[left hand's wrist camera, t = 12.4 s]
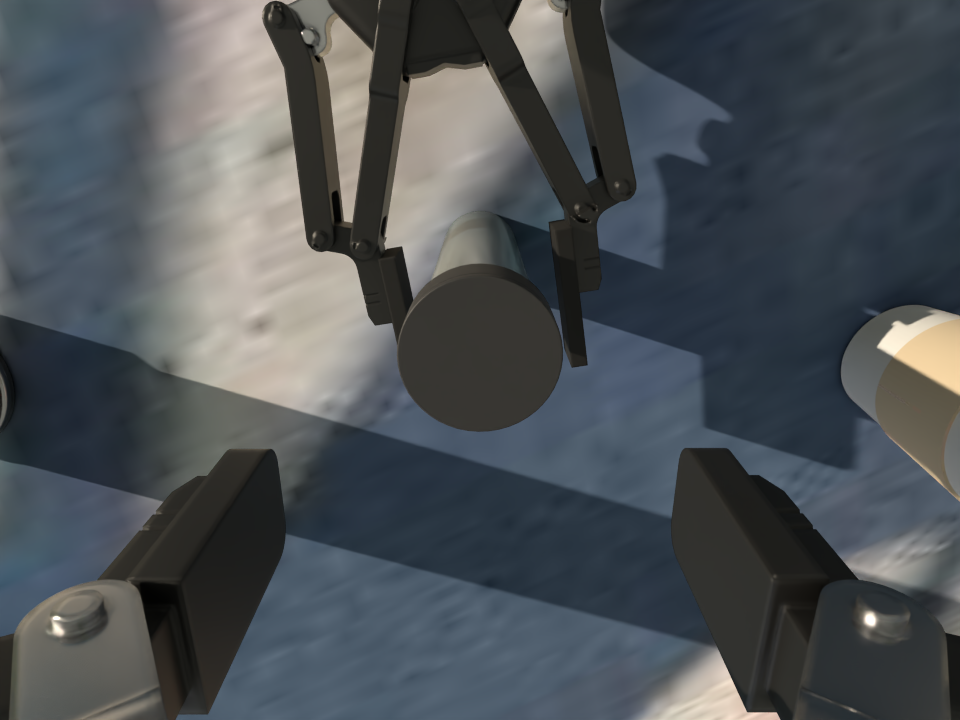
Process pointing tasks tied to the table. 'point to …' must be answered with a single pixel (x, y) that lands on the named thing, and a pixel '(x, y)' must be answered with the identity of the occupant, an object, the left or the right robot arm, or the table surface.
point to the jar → (480, 244)
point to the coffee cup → (911, 384)
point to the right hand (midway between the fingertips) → (496, 368)
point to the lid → (480, 348)
